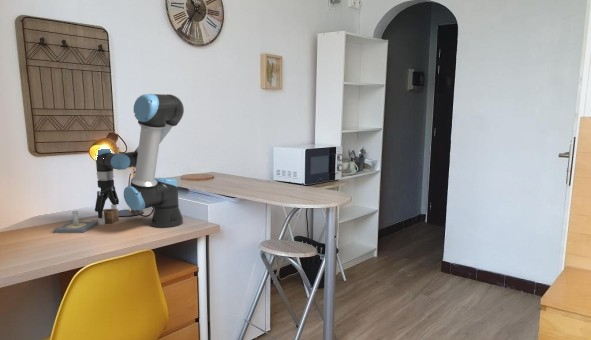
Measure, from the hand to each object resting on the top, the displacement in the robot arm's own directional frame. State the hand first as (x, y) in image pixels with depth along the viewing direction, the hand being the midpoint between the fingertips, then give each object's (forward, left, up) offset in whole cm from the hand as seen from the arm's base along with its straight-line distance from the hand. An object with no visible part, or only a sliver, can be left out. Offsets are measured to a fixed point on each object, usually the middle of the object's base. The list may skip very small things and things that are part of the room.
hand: (108, 220), depth 219 cm
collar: (0, 0, -1) cm, 1 cm away
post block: (+10, +12, -1) cm, 16 cm away
